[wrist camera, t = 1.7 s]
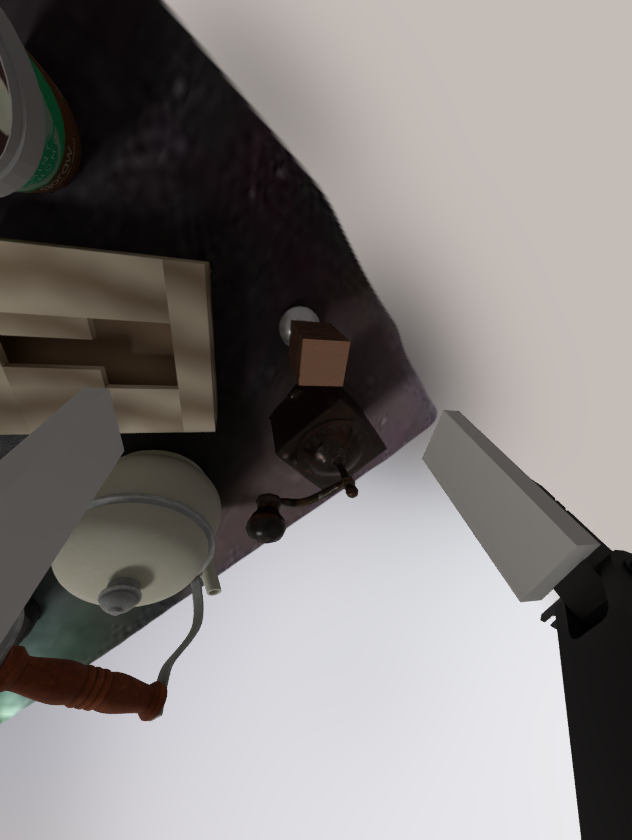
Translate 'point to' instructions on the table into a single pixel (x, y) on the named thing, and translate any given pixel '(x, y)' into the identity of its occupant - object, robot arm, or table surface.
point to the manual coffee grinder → (316, 451)
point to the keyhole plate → (105, 336)
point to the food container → (33, 123)
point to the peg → (313, 348)
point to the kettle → (127, 577)
